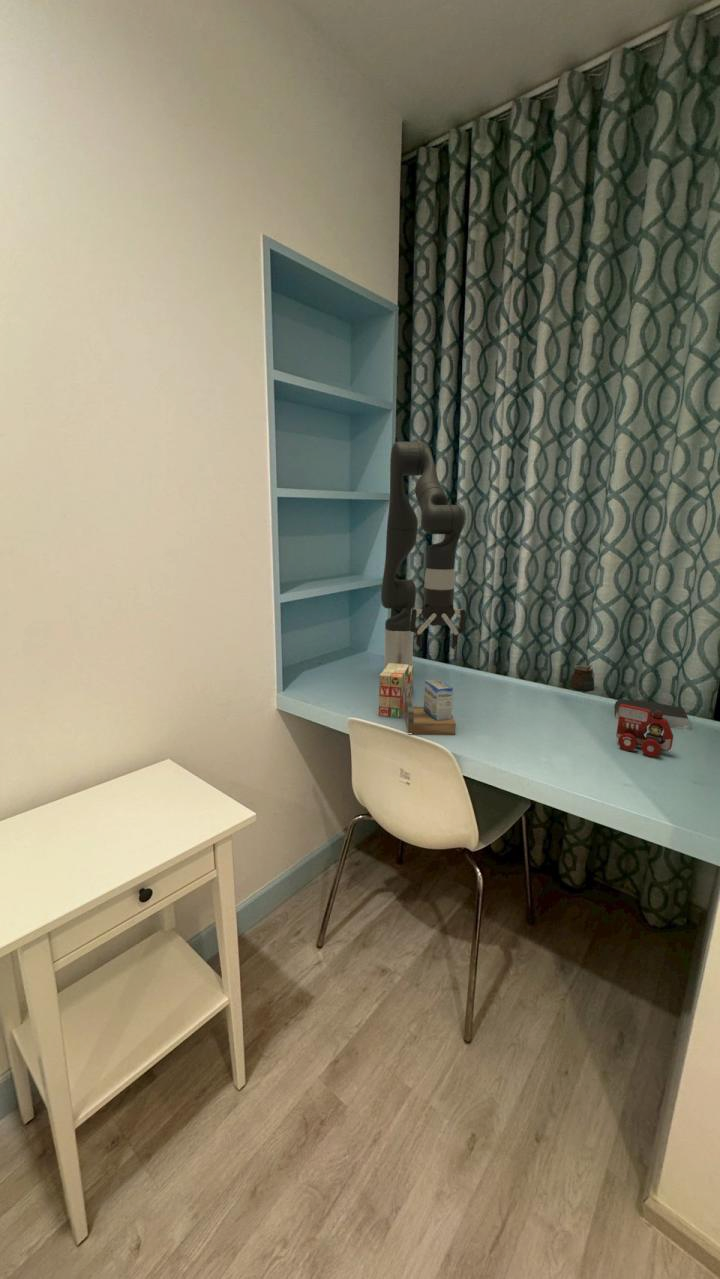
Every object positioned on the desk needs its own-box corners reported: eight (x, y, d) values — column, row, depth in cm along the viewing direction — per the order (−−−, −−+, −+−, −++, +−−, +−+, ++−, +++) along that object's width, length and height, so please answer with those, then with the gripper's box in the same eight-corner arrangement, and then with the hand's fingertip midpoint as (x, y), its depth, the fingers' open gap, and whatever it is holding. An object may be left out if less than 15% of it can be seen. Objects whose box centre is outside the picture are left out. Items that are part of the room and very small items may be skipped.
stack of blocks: (393, 692, 169) (394, 654, 166) (413, 694, 168) (414, 656, 165) (378, 716, 149) (379, 674, 146) (400, 719, 148) (401, 676, 145)
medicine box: (422, 710, 145) (424, 680, 143) (437, 708, 146) (439, 678, 144) (436, 721, 138) (437, 689, 136) (451, 719, 139) (453, 687, 137)
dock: (404, 716, 149) (405, 696, 147) (448, 717, 149) (449, 696, 147) (408, 734, 137) (408, 712, 136) (455, 734, 137) (456, 712, 135)
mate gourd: (582, 687, 176) (585, 657, 173) (599, 694, 169) (602, 663, 166) (564, 689, 173) (567, 659, 171) (580, 696, 166) (583, 665, 164)
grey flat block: (690, 734, 140) (693, 720, 139) (613, 723, 147) (615, 709, 146) (684, 718, 151) (686, 705, 150) (613, 708, 158) (614, 696, 157)
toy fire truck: (667, 761, 123) (674, 719, 121) (610, 747, 131) (615, 707, 128) (672, 751, 129) (678, 710, 126) (616, 738, 136) (621, 699, 134)
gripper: (464, 584, 139) (461, 644, 143) (409, 583, 139) (407, 643, 143) (470, 588, 132) (466, 652, 136) (412, 588, 132) (410, 651, 136)
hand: (436, 647), depth 140 cm, fingers open, 8 cm apart
